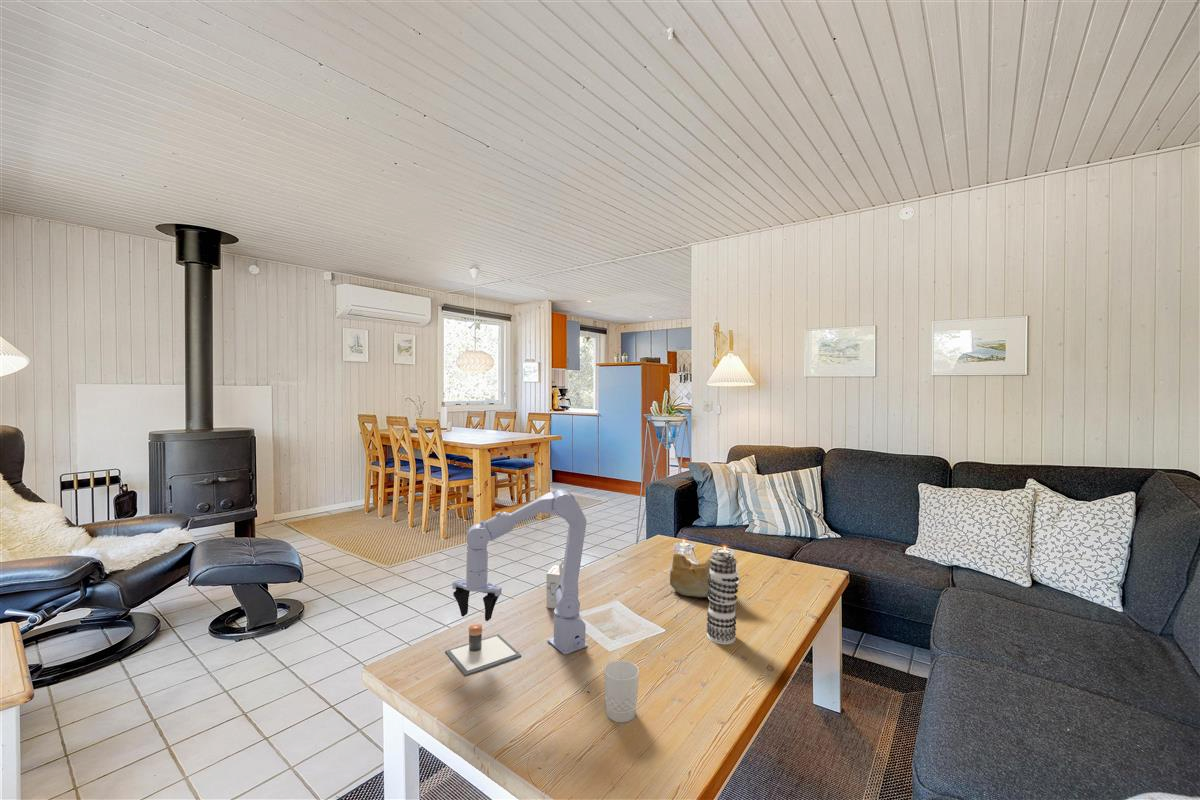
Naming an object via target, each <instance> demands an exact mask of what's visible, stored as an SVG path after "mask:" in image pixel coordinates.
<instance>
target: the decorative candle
mask: <svg viewBox="0 0 1200 800" xmlns="http://www.w3.org/2000/svg"><path fill="white" fill-rule="evenodd" d="M709 559H710V560H711V564H710V573H708V575H707V577H708V580H707V582H708V583H707V584H708V592H707V593H708V597H707V598H708V601H709V605H708V611H707V617H706V621H707V622H706V638H707V639H708V640H709V641H711V642H712V643H714V644H715V643H716V644H718V645H731V644H734V643H735V642H736V636H737V633H736V631H737V626H736V624H737V621H736V620H737V615H736V608H735V607H736V603H737V600H738V596H737V594H738V592H739V591H738V587H739V585H738V583H737V582H738V581H739V578H740V577H738V574H739V573H738V572H737V563H738V560H737V559H736V558H735V557H734V556H733V555H732V553H729V552H723V551H720V552H715V553H713V555H711V556H710V557H709ZM709 576H711V577H709ZM709 581H710V582H709ZM734 641H735V642H734Z"/></svg>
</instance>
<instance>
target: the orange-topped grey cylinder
mask: <svg viewBox="0 0 1200 800" xmlns="http://www.w3.org/2000/svg"><path fill="white" fill-rule="evenodd" d="M482 635H483V625H482V624H479V623H475V624H474V623H473V624H471V625H469V626H468V644H469V650H470V651H472V652H476V651H479V650H481V648H482V639H483V637H482Z"/></svg>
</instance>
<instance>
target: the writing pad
mask: <svg viewBox="0 0 1200 800" xmlns="http://www.w3.org/2000/svg"><path fill="white" fill-rule="evenodd" d="M444 653H445V654H446V656H447V657H449V659H450V660H451V661H452V662H453V664H454V665H455V666H456V667H457V668H458V669H459V671H460V672H461V673H462V674H463V675H464V677H467V676H469V675H473V674H475V673H479V672H481V671H484V670H487V669H489V668H493V667H495V666H498V665H500V664H504V663H507V662H510V661H514V660H516V659H518V658H521V657H522V654H521V653H520V652H518V651H517V650H516V649H515V648H514V647H513V646H512V645H511V644H509V642H507V641H506V640H505V639H504V637H502V636H501V635H500V634H495V635H492V636H491V635H490V636H488V637H485V638H482V648H481V650H479V651H476V652H472V651H470V650H469V643H465V644H463V645H459V646H457V647H453V648H450V649H446V650H445V651H444Z"/></svg>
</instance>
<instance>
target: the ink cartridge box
mask: <svg viewBox="0 0 1200 800" xmlns="http://www.w3.org/2000/svg"><path fill="white" fill-rule="evenodd" d="M563 563H564V559H563V560H562V562H561V563H559V564H558V565H557V564H554V565H553V566H552V567H551V568H550V569H549V570H548V571H547V572H546V608H547V609H555V608H556V606H557V603H556V600H555V597H554V593H555V590H556V588H557V587H558V585H559V580H560V578H561V576H562V570H563Z"/></svg>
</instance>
